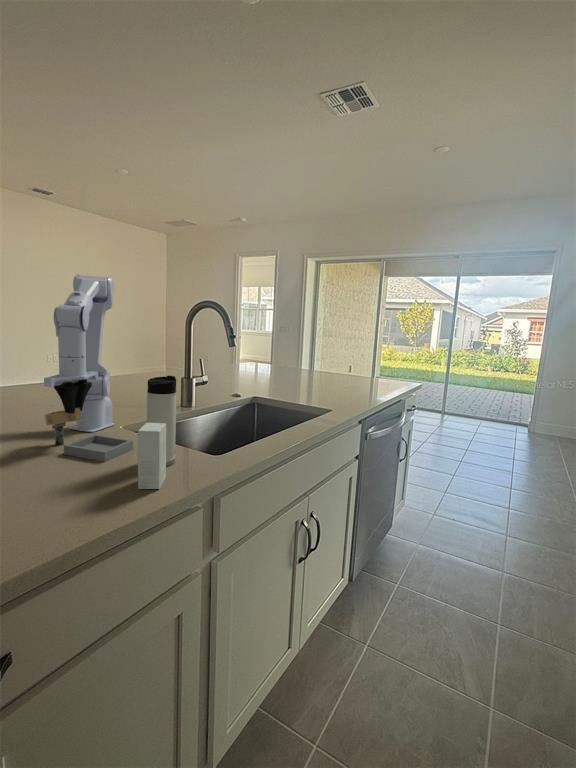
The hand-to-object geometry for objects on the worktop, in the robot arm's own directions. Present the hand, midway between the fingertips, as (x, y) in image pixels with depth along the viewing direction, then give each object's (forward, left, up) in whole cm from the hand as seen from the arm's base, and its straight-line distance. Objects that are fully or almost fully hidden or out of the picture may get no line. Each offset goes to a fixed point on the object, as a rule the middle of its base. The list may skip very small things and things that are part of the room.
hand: (73, 411), depth 96 cm
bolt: (0, -4, -9) cm, 10 cm away
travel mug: (0, +25, -9) cm, 26 cm away
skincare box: (+11, +30, -9) cm, 33 cm away
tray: (0, +8, -9) cm, 12 cm away
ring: (0, -3, -3) cm, 4 cm away
